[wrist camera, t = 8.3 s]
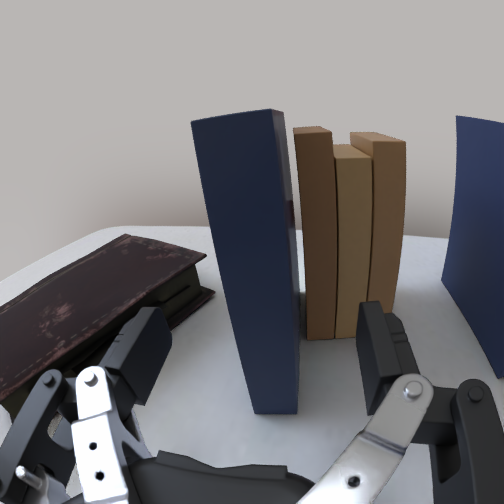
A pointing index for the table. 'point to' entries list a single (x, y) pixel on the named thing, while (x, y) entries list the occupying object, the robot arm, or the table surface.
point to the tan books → (349, 225)
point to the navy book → (255, 247)
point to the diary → (91, 310)
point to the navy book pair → (479, 234)
